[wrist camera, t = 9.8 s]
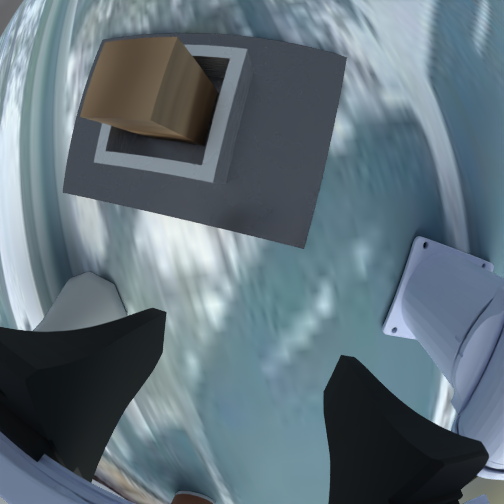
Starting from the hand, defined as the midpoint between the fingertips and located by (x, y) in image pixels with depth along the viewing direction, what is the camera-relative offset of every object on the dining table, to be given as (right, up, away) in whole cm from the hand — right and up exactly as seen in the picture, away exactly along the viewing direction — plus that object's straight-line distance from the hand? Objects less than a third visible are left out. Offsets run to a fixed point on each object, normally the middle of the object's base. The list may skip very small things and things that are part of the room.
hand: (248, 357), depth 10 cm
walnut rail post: (-5, +13, +7) cm, 16 cm away
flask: (-14, -1, +12) cm, 19 cm away
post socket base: (-4, +14, +8) cm, 16 cm away
